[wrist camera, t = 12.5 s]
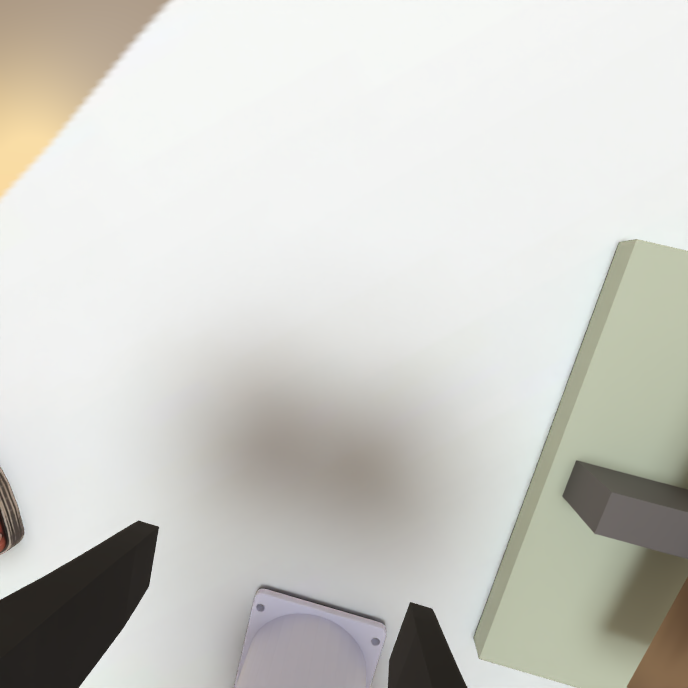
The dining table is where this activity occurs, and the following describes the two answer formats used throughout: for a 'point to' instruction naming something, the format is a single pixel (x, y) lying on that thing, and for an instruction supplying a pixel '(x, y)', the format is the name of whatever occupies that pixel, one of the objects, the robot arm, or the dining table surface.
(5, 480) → the lighter
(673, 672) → the walnut batten
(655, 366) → the stand
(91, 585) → the robot arm
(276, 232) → the dining table surface
